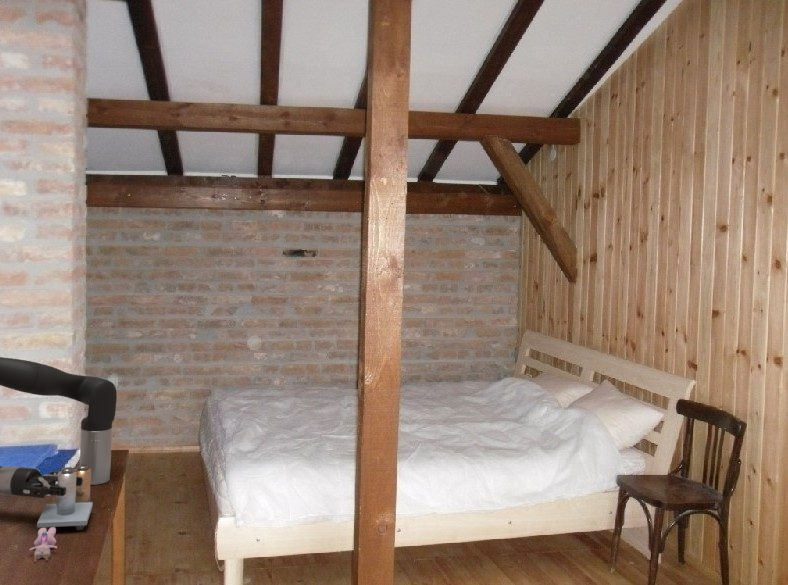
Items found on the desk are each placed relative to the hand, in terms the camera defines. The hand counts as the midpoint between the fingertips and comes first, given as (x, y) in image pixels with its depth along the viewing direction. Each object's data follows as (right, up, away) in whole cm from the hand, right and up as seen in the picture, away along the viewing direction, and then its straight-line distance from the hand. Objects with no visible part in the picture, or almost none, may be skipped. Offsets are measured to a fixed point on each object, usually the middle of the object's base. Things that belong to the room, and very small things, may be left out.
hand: (73, 486), depth 196 cm
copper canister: (-4, -9, +13) cm, 17 cm away
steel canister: (-2, -7, +1) cm, 8 cm away
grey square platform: (-3, -10, +1) cm, 11 cm away
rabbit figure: (0, -12, -16) cm, 20 cm away
